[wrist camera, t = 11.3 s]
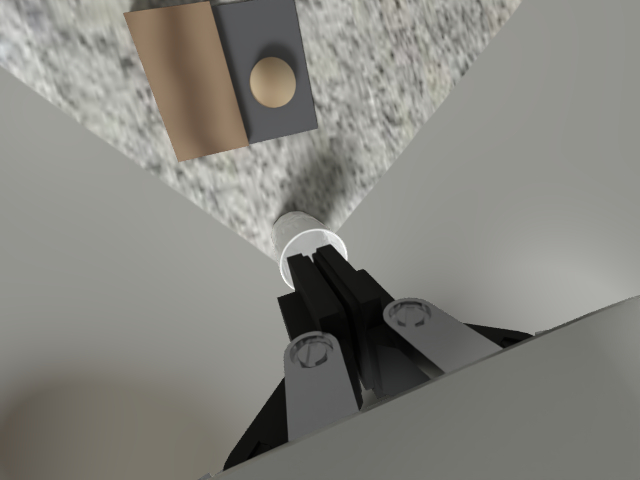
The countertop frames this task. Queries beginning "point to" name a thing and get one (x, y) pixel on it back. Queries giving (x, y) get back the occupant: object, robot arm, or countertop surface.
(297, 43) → the rubber mat
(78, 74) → the countertop surface
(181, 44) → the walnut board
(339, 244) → the white cup
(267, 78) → the cream dome knob
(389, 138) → the countertop surface
